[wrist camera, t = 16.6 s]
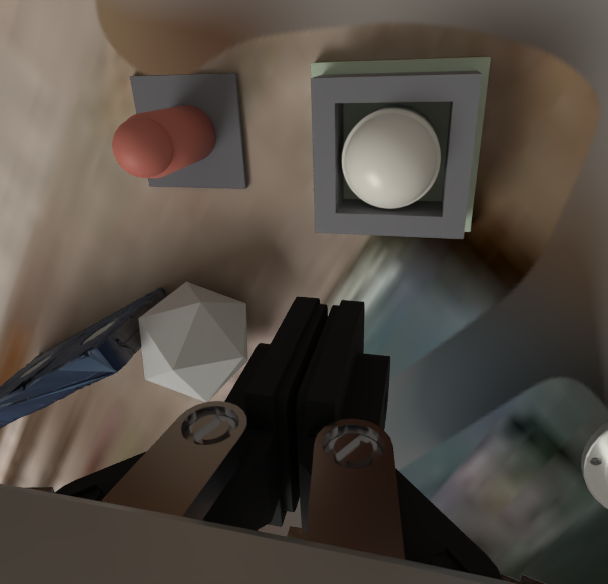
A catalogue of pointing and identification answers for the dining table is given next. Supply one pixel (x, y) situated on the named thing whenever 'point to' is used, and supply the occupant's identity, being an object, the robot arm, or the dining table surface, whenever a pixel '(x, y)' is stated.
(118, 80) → the dining table surface
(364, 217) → the popper base
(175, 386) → the die
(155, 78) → the coaster
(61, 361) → the vhs cassette tape
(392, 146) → the popper dome
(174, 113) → the pawn
